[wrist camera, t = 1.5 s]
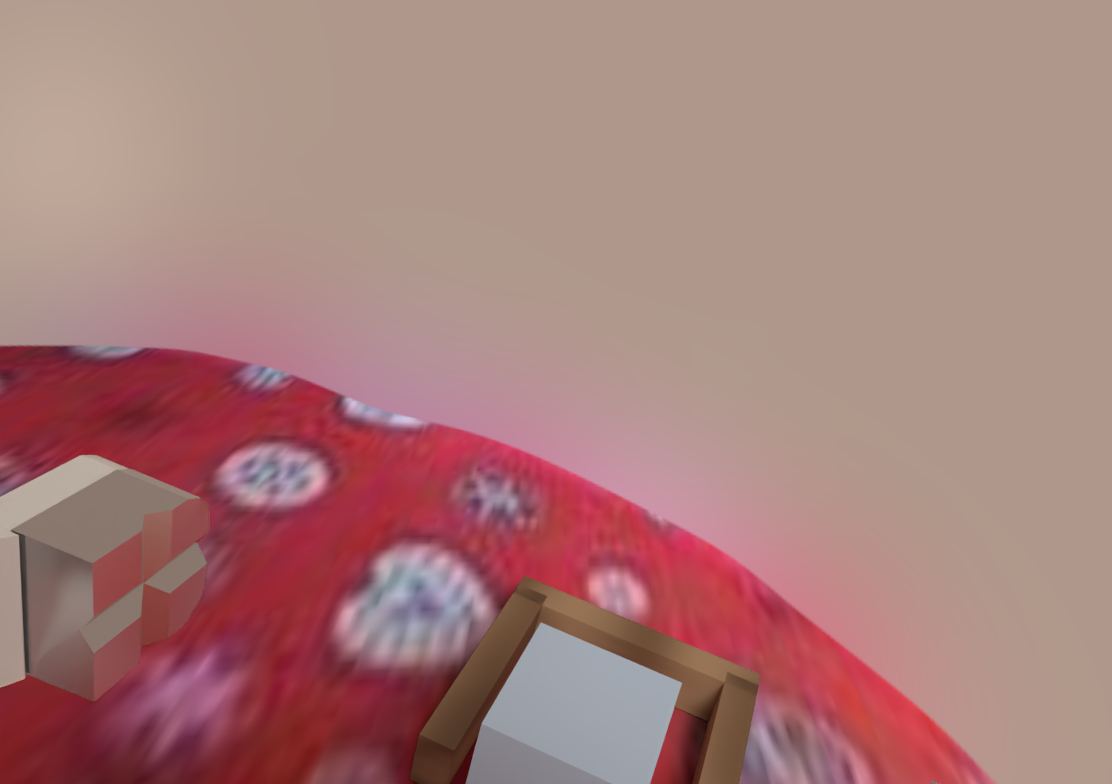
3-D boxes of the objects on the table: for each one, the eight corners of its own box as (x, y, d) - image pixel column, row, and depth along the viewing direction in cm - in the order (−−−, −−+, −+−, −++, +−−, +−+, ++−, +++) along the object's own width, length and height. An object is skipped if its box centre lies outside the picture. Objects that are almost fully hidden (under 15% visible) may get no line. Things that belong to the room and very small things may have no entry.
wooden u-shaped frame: (409, 779, 35) (419, 734, 34) (514, 614, 45) (524, 576, 44) (699, 919, 33) (720, 875, 32) (743, 713, 43) (760, 674, 42)
